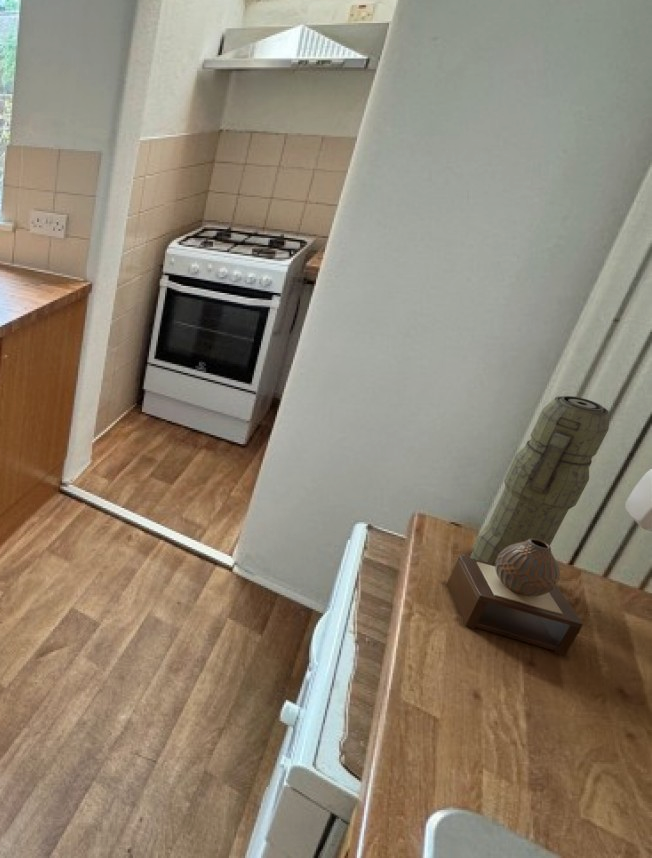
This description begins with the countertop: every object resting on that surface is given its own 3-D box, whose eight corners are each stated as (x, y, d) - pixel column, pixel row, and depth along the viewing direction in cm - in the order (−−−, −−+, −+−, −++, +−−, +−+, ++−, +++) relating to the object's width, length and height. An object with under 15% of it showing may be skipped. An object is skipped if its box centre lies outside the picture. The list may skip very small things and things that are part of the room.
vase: (514, 569, 100) (535, 527, 96) (560, 602, 93) (585, 558, 90) (477, 571, 99) (497, 529, 96) (521, 605, 93) (544, 560, 89)
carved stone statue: (461, 573, 108) (539, 403, 96) (473, 544, 116) (547, 382, 103) (529, 603, 102) (622, 426, 89) (537, 570, 109) (624, 402, 97)
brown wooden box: (535, 611, 101) (553, 578, 98) (563, 658, 92) (584, 623, 90) (445, 585, 106) (460, 553, 103) (464, 628, 97) (480, 594, 95)
